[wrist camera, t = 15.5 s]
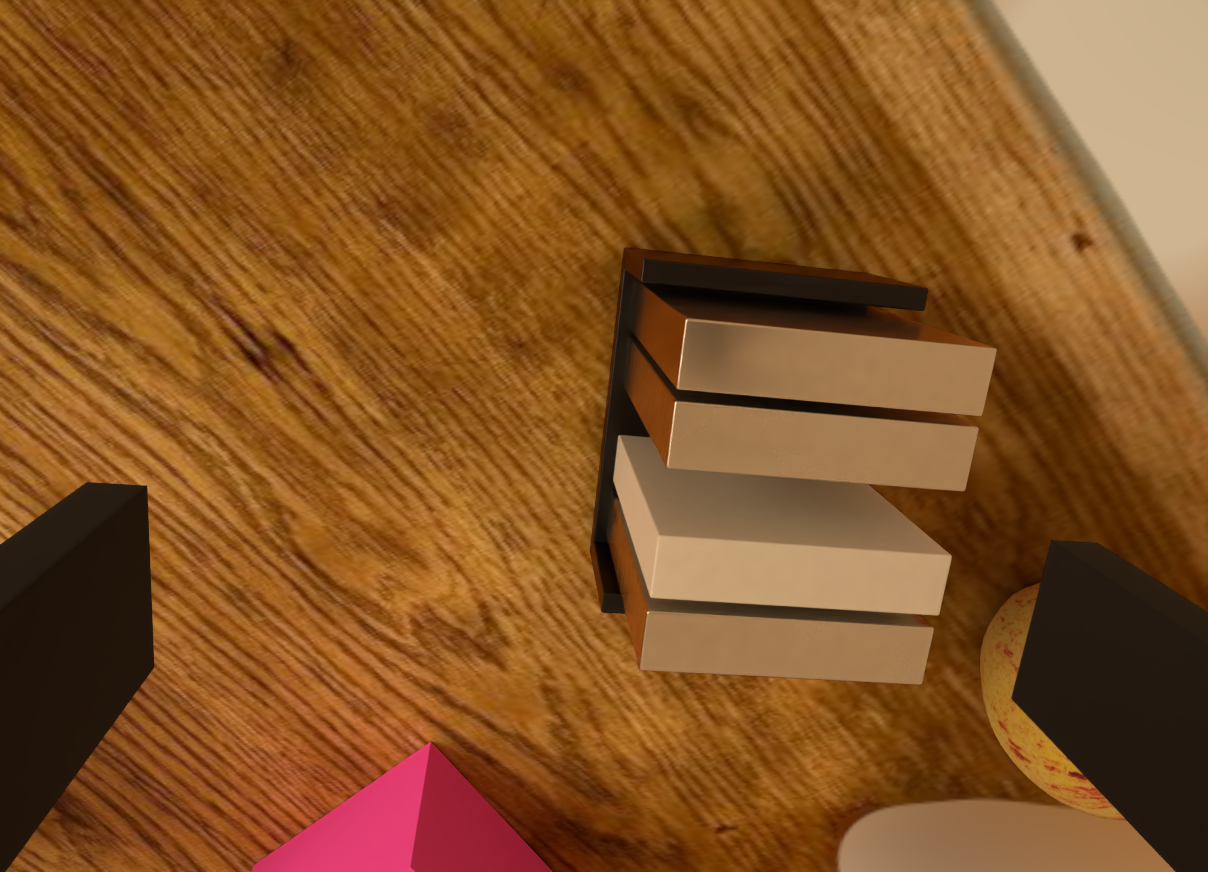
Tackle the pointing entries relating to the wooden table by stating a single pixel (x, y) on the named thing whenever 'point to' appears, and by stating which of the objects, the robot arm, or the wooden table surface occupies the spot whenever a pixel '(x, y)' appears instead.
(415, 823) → the bracket
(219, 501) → the wooden table surface
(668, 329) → the black book rack
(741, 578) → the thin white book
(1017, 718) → the apple
